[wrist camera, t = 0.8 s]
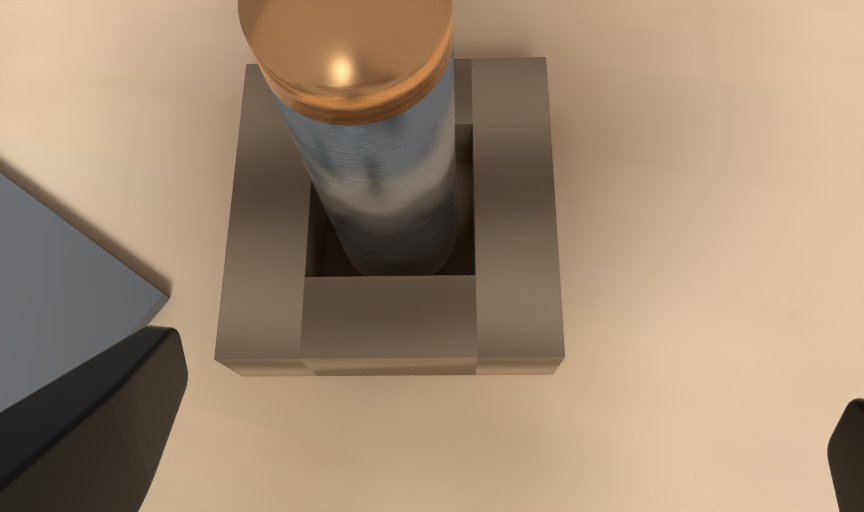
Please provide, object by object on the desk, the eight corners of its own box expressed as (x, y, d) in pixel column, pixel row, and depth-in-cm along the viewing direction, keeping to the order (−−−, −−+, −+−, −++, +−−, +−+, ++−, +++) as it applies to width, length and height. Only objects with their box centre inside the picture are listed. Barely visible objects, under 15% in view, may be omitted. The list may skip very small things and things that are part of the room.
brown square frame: (553, 374, 24) (565, 357, 22) (242, 376, 25) (214, 359, 22) (537, 102, 28) (545, 57, 25) (267, 108, 29) (246, 64, 26)
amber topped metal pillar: (412, 308, 25) (365, 124, 13) (318, 245, 26) (194, 19, 14) (479, 216, 27) (494, -32, 14) (386, 159, 28) (326, -119, 15)
